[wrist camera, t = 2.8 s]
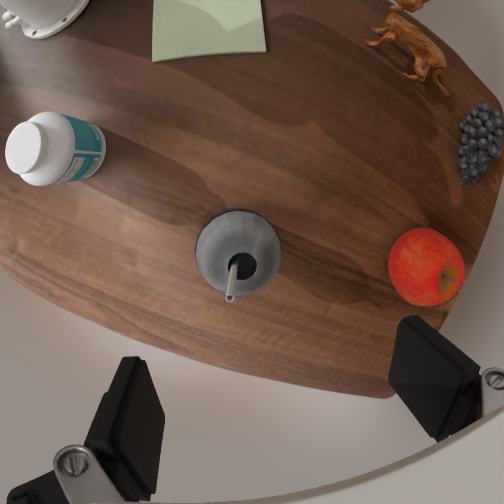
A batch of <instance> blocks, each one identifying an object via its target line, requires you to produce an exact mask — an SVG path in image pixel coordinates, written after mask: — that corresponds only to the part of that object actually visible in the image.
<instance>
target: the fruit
mask: <svg viewBox="0 0 504 504" xmlns="http://www.w3.org/2000/svg"><path fill="white" fill-rule="evenodd" d="M488 111H489V112H488ZM488 113H489V114H488ZM490 117H491V118H490ZM500 118H501V112H500V111H499V109H496V108H494V109H490V110H488V106H487V105H486V104H485V103H484V102H483V101H481V102H479V103H478V108H471V109H470V112H469V115H467V117H466V121H462V122H460V129H461V130H462V131H464V132H465V133H464V134H463V135H462V139H461V141H462V144H464V145H465V146H460V147H459V149H458V152H459V154H460V155H461V156H463V157H461V158H459V160H458V164H459V166H460V168H461V169H460V171H459V173H460V175H461V176H462V177H461V183H462V184H463V185H464V186H469V185H470V184H471V181H472V182H473V183H478V182H479V181H480V176H481V177H485V176H486V174H487V166H490V165H491V164H492V162H494V161H495V157H496V158H498V157H499V156H500V154H501V151H500V149H499V148H501V147H502V138H503V139H504V119H500ZM486 165H487V166H486Z"/></svg>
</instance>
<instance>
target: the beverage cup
mask: <svg viewBox="0 0 504 504" xmlns="http://www.w3.org/2000/svg"><path fill="white" fill-rule="evenodd" d="M195 255H196V261H197V265H198V267H199V269H200V271H201V272H202V274H203V276H204V278H205V279H206V281H207V282H208V283H209V284H211V285H212V286H213V287H214V288H215V289H217V290H219V291H221V292H223V293H226V300H227V301H228V302H232V301H234V295H235V296H243V295H249V294H253V293H255V292H257V291H259V290H261V289H263V288H264V287H265V286H266V285H267V284H268V283H269V282H271V281H272V279H273V277H274V276H275V274H276V272H277V270H278V268H279V264H280V259H281V248H280V239H279V237H278V234H277V232H276V230H275V228H274V226H273V225H272V224H271V223H270V222H269V221H268V220H267V219H266V218H265V217H263V216H262V215H260V214H258V213H256V212H254V211H251V210H245V209H234V208H230V209H225V210H223V211H221V212H219V213H218V214H217V215H216V216H214V217H212V218H211V219H210V220H209V221H208V222H207V223H206V224H205V225H204V226H203V227H202V229H201V231H200V233H199V235H198V237H197V240H196V248H195Z"/></svg>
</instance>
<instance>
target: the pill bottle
mask: <svg viewBox="0 0 504 504" xmlns="http://www.w3.org/2000/svg"><path fill="white" fill-rule="evenodd" d="M105 153H106V142H105V138H104V135H103V133H102V132H101V130H100V129H99V128H98V127H97V126H96V125H94V124H92V123H89V122H86V121H83V120H79V119H76V118H73V117H69V116H66V115H63V114H59V113H55V112H42V113H39V114H37V115H35V116H33V117H32V118H31V119H29V120H28V121H27V122H23V123H21V124H19V125H17V126H16V127H15V128H14V130H13V131H12V132H11V134H10V136H9V138H8V141H7V144H6V150H5V154H6V161H7V164H8V166H9V168H10V169H11V170H12V171H13V172H15V173H18V174H19V175H20V176H21V177H22V178H23V179H24V180H25V181H26V182H27V183H29V184H31V185H35V186H44V185H51V184H58V183H64V182H71V181H78V180H83V179H86V178H88V177H90V176H92V175H93V174H94V173H95V172H96V171H97V170H98V169H99V168H100V166H101V165H102V163H103V160H104V158H105Z"/></svg>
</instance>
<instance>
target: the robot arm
mask: <svg viewBox="0 0 504 504" xmlns="http://www.w3.org/2000/svg"><path fill="white" fill-rule="evenodd" d="M88 2H89V0H0V5H1V6H3V7H4V8H6V9H7V10H9V11H7V12H5V13H4V14H3V21H4V22H7V21H9V20H10V19H12V18H14V17H15V16H16V18H15V19H12V20H11V21H9V22H7V23H6V29H10V28H11V27H13V26H15V25H16V24H20V25H21V26H22V30H23V32H24V34H25V35H27V36H28V37H30V38H31V39H43V38H47V37H49V36H52V35H54V34H56V33H57V32H59V31H61V30H62V29H64V28H65V27H66V26H68V25H69V24H70V23H71V22H72V21H74V20H75V19H76V18H77V17H78V16H79V14H80V13H81V12H82V11H83V10H84V8H85V7H86V5H87V4H88ZM479 371H480V366H479V365H477V364H476V363H475V362H474V361H473V360H472V359H470V358H469V357H468V356H467V355H466V354H464V353H463V352H462V351H461V350H460V349H458V348H457V347H456V346H455V345H454V344H452V343H451V342H450V341H449V340H448V339H446V338H445V337H444V336H443V335H441V334H440V333H439V332H438V331H436V330H435V329H434V328H433V327H431V326H430V325H429V324H428V323H426V322H425V321H424V320H423V319H421V318H420V317H419V316H417V315H412V316H409V317H405V318H403V319H402V320H401V322H400V323H399V324H398V328H397V334H396V340H395V345H394V351H393V356H392V361H391V366H390V371H389V375H388V380H389V383H390V385H391V386H392V388H393V389H394V390H395V391H396V393H397V394H398V395H399V397H400V398H401V399H402V401H403V402H404V403H405V405H406V406H407V407H408V408H409V410H410V411H411V412H412V414H413V415H414V416H415V418H416V419H417V420H418V422H419V423H420V424H421V426H422V427H423V428H424V430H425V431H426V432H427V434H428V435H429V436H430V437H432V438H434V439H435V440H436V441H437V443H436V444H434V445H432V446H430V447H428V448H426V449H424V450H422V451H420V452H418V453H416V454H414V455H411V456H409V457H407V458H404V459H402V460H400V461H397V462H395V463H393V464H390V465H387V466H385V467H382V468H380V469H377V470H374V471H371V472H369V473H366V474H363V475H360V476H357V477H353V478H350V479H347V480H344V481H340V482H337V483H333V484H330V485H326V486H322V487H318V488H314V489H309V490H305V491H300V492H295V493H290V494H285V495H279V496H273V497H266V498H259V499H251V500H242V501H232V502H231V501H230V502H214V503H145V502H139V500H141V501H150V497H151V494H155V492H156V486H157V477H158V468H159V461H160V453H161V446H162V439H163V432H164V425H165V415H164V411H163V409H162V407H161V404H160V401H159V398H158V395H157V393H156V390H155V387H154V384H153V381H152V379H151V376H150V373H149V370H148V367H147V364H146V361H145V360H141V359H140V357H138V356H134V357H123V358H122V360H121V362H120V365H119V367H118V369H117V371H116V374H115V376H114V378H113V381H112V383H111V385H110V388H109V390H108V392H106V393H105V394H104V395H103V397H102V400H101V402H100V404H99V407H98V409H97V412H96V414H95V417H94V419H93V421H92V424H91V427H90V429H89V432H88V434H87V437H86V440H85V442H84V445H83V446H82V445H70V446H66V447H64V448H63V449H61V450H60V451H59V452H58V453H57V454H56V455H55V457H54V460H53V468H54V470H53V471H51V472H48V473H47V474H44V475H42V476H40V477H38V478H36V479H33V480H31V481H29V482H27V483H24V484H22V485H20V486H17V487H16V488H14V489H12V490H11V491H10V493H9V494H8V497H7V504H504V370H503V369H501V368H489V369H486V370H485V371H484V372H483V373H482V375H480V374H479ZM449 435H451V436H450V437H449Z"/></svg>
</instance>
